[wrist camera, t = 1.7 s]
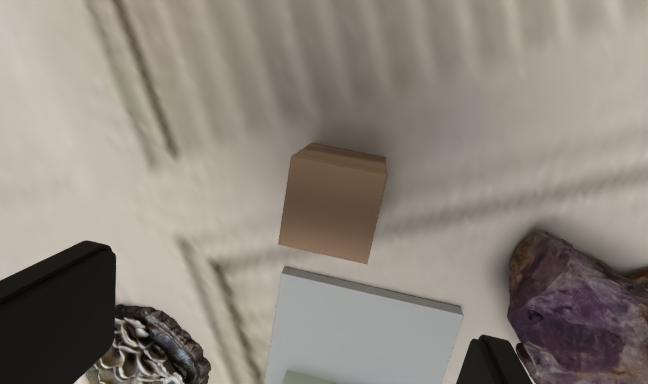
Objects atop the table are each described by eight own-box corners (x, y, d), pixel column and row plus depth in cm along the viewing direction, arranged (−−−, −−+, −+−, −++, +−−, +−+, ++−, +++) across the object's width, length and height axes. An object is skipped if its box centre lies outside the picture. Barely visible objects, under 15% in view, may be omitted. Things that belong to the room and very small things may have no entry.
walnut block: (311, 143, 24) (291, 156, 18) (384, 157, 24) (387, 175, 18) (300, 211, 25) (278, 244, 20) (369, 226, 25) (367, 264, 19)
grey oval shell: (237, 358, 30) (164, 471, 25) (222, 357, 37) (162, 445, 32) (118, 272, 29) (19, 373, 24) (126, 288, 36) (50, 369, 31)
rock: (538, 199, 24) (461, 315, 27) (595, 232, 16) (476, 394, 19) (721, 288, 22) (618, 404, 25) (893, 377, 14) (714, 537, 17)
